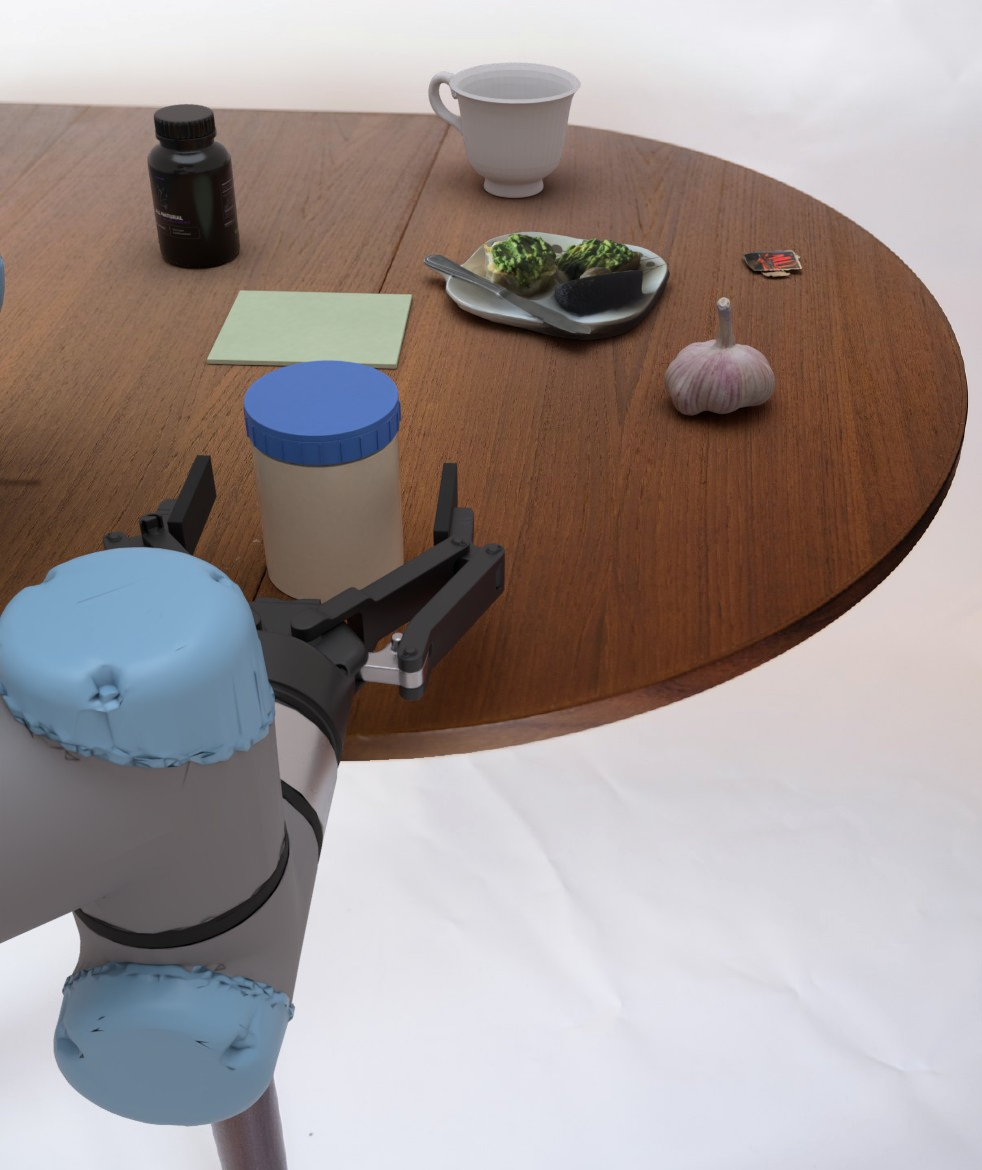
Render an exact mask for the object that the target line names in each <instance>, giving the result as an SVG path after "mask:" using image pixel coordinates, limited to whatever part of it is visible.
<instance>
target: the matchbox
mask: <svg viewBox="0 0 982 1170" xmlns="http://www.w3.org/2000/svg"><path fill="white" fill-rule="evenodd" d="M742 256H743V259H744V261H745V263H746V264H747V267H749V268H751V269H752V270H753V271H760V272H761V274H762V275H763V276H765V277H771V276H772V278H775V277H784V276H786V277H788V276H790V275H791V273H790V272H791V271H790V270H802V269H803V266H802V265H801V261H799V259H800V258H801V256H800V255H798V254H797V253H796V252H794V250H791V249H786V250H780V249H778V250H769V251H768V250H767V251H766V250H765V251H764V250H763V251H762V250H758V251H754V252H749V253H743V254H742ZM768 271H770V272H768ZM787 271H788V272H787Z"/></svg>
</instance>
